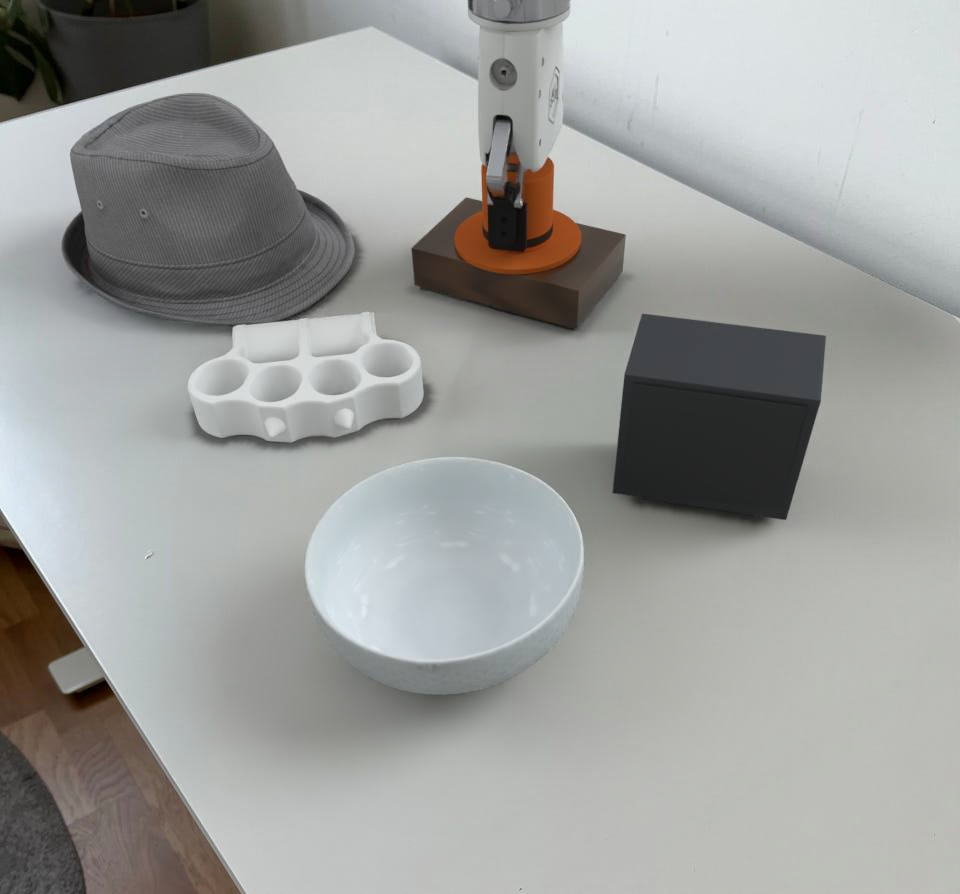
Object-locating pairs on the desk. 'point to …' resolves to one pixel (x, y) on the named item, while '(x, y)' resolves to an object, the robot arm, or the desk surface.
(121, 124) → the fedora
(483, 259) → the top hat
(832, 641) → the desk surface
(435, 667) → the cereal bowl
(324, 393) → the white brass knuckles
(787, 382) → the dark grey cabinet box
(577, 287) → the brown wooden block
